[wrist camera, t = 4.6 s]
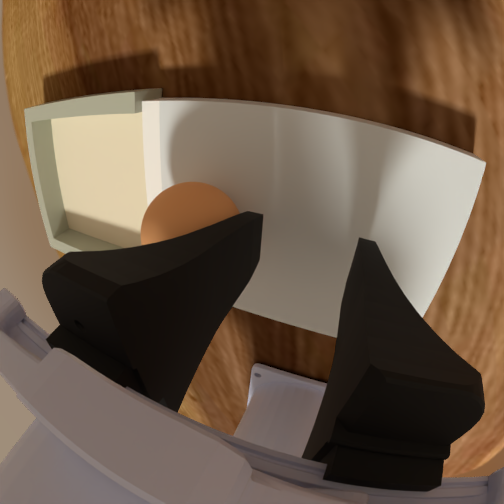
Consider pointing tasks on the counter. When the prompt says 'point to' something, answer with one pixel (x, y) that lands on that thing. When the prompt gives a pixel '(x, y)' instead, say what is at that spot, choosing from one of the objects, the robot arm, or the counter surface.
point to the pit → (90, 169)
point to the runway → (318, 196)
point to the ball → (185, 211)
